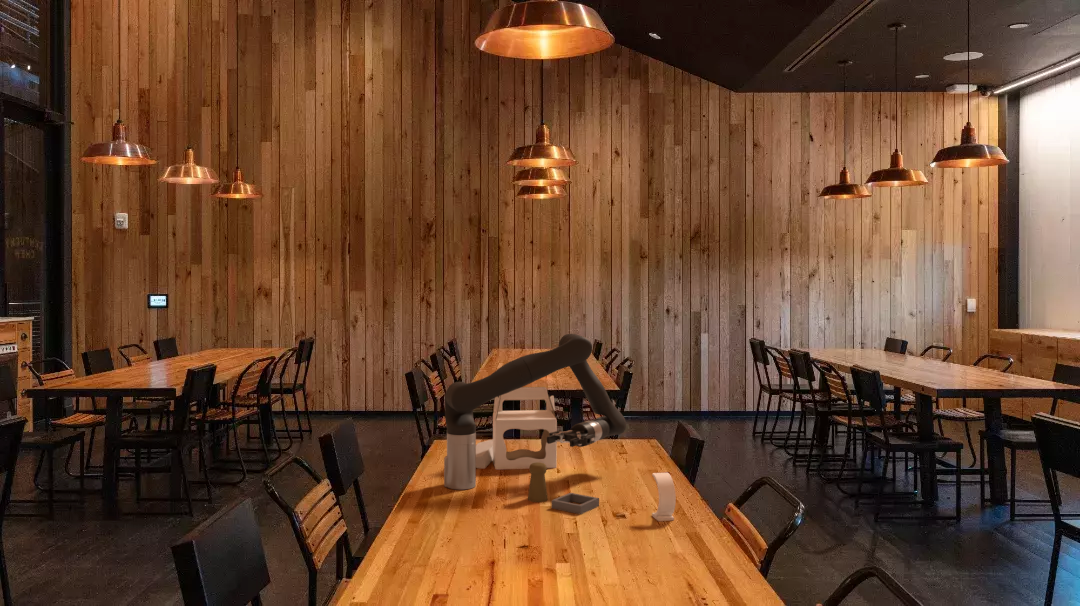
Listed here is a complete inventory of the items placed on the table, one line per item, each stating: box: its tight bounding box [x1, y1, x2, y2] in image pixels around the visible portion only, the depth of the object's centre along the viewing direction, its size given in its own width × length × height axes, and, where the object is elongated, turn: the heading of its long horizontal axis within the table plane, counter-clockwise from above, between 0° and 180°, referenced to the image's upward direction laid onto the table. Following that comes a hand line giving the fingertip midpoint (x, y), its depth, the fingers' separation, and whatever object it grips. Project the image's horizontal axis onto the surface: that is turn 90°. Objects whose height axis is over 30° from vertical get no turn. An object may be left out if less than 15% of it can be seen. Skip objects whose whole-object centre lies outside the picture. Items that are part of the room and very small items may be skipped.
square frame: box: [551, 492, 600, 515], centre depth 215 cm, size 10×10×2 cm
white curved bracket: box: [651, 472, 677, 522], centre depth 205 cm, size 5×6×12 cm
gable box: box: [492, 386, 558, 470], centre depth 267 cm, size 22×13×28 cm, turn 97°
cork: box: [527, 462, 549, 503], centre depth 223 cm, size 6×6×11 cm
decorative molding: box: [476, 438, 493, 469], centre depth 278 cm, size 34×5×10 cm
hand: (559, 441), depth 232 cm, fingers open, 8 cm apart
